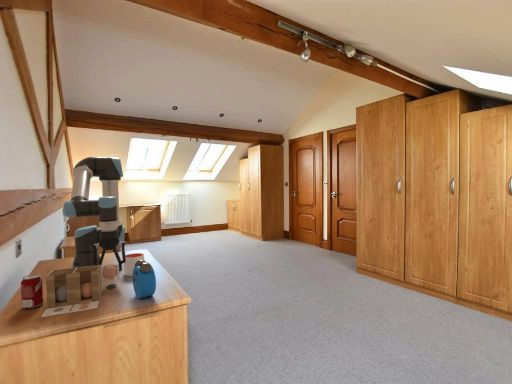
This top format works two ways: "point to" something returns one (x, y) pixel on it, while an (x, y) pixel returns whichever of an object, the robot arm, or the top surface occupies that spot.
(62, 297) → the ball grey
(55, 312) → the card
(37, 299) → the soda can
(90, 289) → the terracotta ball
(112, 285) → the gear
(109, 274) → the terra ball
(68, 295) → the box
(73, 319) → the top surface
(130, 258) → the cup
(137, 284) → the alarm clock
